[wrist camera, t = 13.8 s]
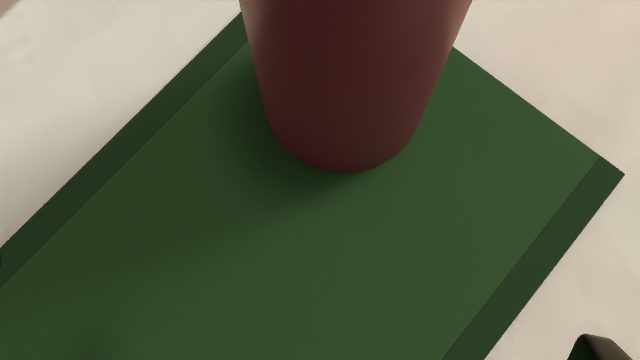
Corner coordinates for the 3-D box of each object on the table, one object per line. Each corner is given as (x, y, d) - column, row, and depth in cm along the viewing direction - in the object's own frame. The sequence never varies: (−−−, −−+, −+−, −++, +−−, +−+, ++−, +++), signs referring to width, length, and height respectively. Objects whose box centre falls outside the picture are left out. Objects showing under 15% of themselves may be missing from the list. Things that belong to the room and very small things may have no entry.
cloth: (164, 775, 16) (161, 782, 16) (-158, 408, 19) (-166, 409, 18) (621, 176, 21) (625, 174, 20) (312, -54, 23) (312, -59, 23)
